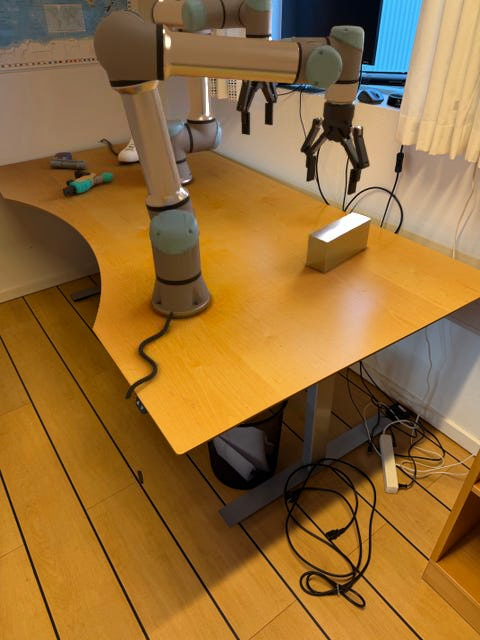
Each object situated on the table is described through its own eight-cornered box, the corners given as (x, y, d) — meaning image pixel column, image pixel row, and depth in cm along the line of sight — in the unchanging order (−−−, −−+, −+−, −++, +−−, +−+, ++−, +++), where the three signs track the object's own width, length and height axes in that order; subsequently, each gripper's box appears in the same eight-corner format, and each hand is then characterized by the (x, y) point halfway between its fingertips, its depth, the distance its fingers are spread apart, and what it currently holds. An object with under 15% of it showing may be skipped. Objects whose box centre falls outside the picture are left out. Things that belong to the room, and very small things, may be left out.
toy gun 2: (40, 183, 186) (69, 189, 180) (86, 165, 204) (114, 170, 199) (43, 194, 188) (72, 201, 183) (88, 175, 207) (115, 180, 201)
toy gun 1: (98, 160, 223) (83, 171, 211) (61, 158, 226) (45, 169, 214) (96, 152, 220) (81, 162, 208) (59, 150, 223) (43, 160, 212)
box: (324, 273, 137) (327, 242, 131) (306, 265, 141) (308, 234, 135) (366, 247, 149) (371, 218, 144) (348, 241, 153) (352, 212, 147)
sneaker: (112, 165, 217) (107, 137, 210) (140, 147, 239) (137, 122, 232) (133, 167, 215) (128, 139, 207) (159, 148, 237) (156, 123, 230)
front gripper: (393, 107, 110) (378, 195, 122) (309, 91, 124) (303, 172, 137) (375, 112, 105) (361, 203, 118) (290, 95, 120) (285, 178, 132)
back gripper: (269, 48, 150) (268, 119, 162) (223, 58, 133) (225, 136, 146) (290, 49, 146) (287, 122, 159) (245, 60, 130) (245, 140, 142)
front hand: (330, 186), depth 127 cm, fingers open, 13 cm apart
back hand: (257, 129), depth 152 cm, fingers open, 13 cm apart
